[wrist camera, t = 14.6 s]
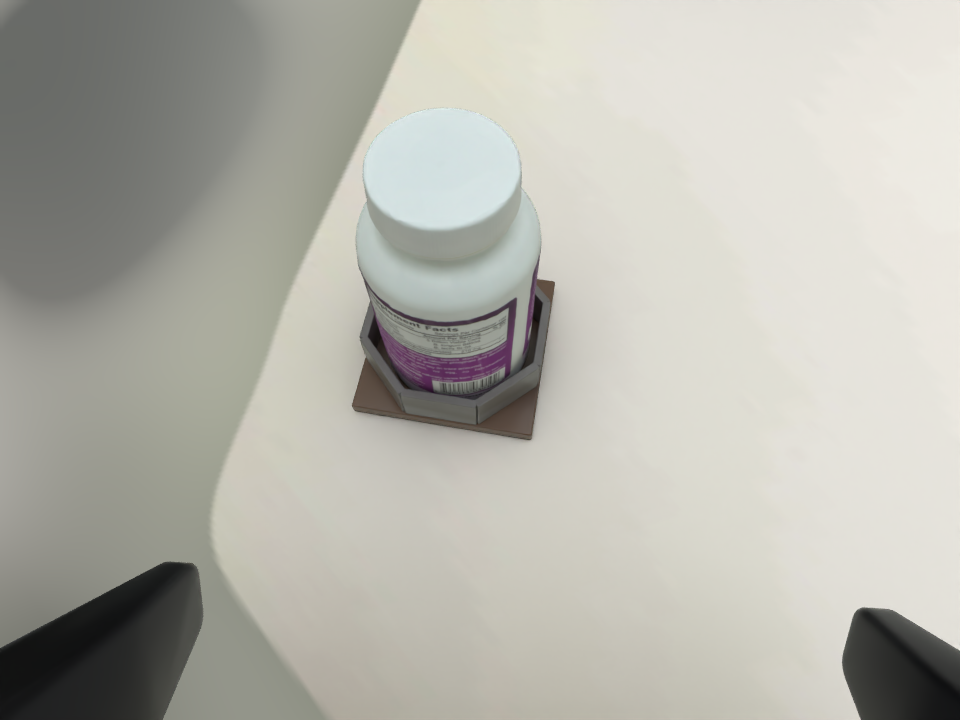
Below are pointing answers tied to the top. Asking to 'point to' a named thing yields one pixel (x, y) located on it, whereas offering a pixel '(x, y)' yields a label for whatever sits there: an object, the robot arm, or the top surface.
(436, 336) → the pill bottle
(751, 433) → the top surface
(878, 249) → the top surface
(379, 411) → the octagonal bottle holder
